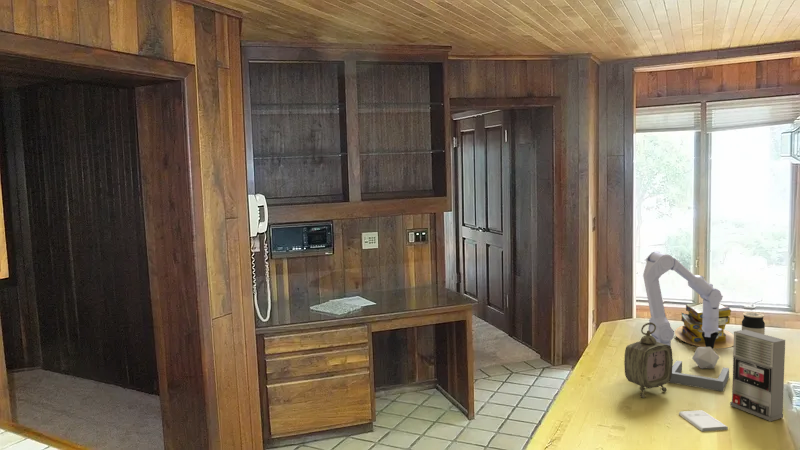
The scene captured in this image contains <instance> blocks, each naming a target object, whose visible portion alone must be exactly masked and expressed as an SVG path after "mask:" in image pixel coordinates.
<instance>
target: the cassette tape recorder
mask: <svg viewBox="0 0 800 450" xmlns="http://www.w3.org/2000/svg"><path fill="white" fill-rule="evenodd" d="M733 334H734V346H733V352H732V353H733V354H732V359H733V361H732V383H731V384H732V386H731V387H732V391H731V393H732V394H731V396H732V397H731V401H730V403H729V405H730V406H731V407H732V408H735V409H739V410H741V411H743V412H747V413H748V414H751V415H754V416H756V417H759V418H761V419H763V420H766V421H768V422H773V421H776V420H779V419H780V418H782V419H783V418H784V414H783V413H784V412H783V411H784V409H783V408H784V386H785V385H784V384H785V380H784V379H785V361H786V359H785V358H786V356H785V355H786V339H783V338H780V337H775V336H772V335H771V336H770V335H769V334H760V333H757V332H753V331H749V330H742V329H740V330H736V331H733Z"/></svg>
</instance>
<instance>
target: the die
mask: <svg viewBox="0 0 800 450" xmlns="http://www.w3.org/2000/svg"><path fill="white" fill-rule="evenodd" d="M691 359H692V360H693V361H694V362H695V364H697V366H698V367H699V368H700V369H702V370H703V369H704V370H705V369H714V368H715V367H716V366H717V363H718V362H719V359H720V356H719V355H718V354H717V353H716V351H715V350H714V348H713V349H712V348H711V347H699V346H696V349H695V352H694V354H693V356H692V358H691Z"/></svg>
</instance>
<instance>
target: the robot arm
mask: <svg viewBox="0 0 800 450" xmlns="http://www.w3.org/2000/svg"><path fill="white" fill-rule="evenodd" d="M645 261H646V263H645V268H644V270H643V273H642V274H643V275H642V277H643V281H644V286H645V293H646V297H647V302H648V308H649V313H650V318H649V319H648V321H649V322H648V323H654V324H655V326H656V330H655V331H654V333H652V334H650V335H651V336H653V337H654V338H655V339H656V342H659V343H663V344H666V345H669V346H671V347H672V345H671V344H672V343H671V341H672V340H673V339H674V337H675V330H674V329H673V328H672V326H671V323H670V321H669V320H668V318H667V317H666V316H667V315H666V311H665V306H664V301H663V295H662V292H661V284H660V278H661V276H662V275H664V274H666V273H667V272H669V271H674V272H675V273H676V274H678V275H679V276H681V277H682V278H683V279H685V280H686V281H687V285H688V287H689V288H691V290H693V291H694V292H695V293H697V294H698V295H699V297H700V298H701V299H702V303H703V321H702V330H703V331H704V332H702V336H703V338H704V341H705V345H706V347H711V348H712V349H713V350H714V349H715V348H714V344H715V340H716V337H717V336H718V334H719V333H718V332H717V331H722V329H720V328H718V322H719V303H720V304H721V301H722V300H723V297H724V296H723V295H722V293H721V291H720V290H719V289H717V288H715V287H714V285H713V284H712V283H710V282H708V281H707V280H705V277H704V276H703V275H699V274H693V273H692V272H691V271H690V270H689V269H688V268H686V267H685V266H684V264H682V263H681V262H680V261H679V260H678V259H677V258H674V257H673V256H672V255H670V254H666V253H662V252H660V251H657V250H656V251H655V250H654V251H653V252H651V253H650V254H649V255H648V256H647V257H646V259H645ZM647 329H648V330H649V331H650V332H652V331H653V330H654V325H652V324H650V325H648V328H647ZM648 330H647V331H648ZM672 360H673V361H674V359H673V358H672Z"/></svg>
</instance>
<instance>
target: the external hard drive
mask: <svg viewBox="0 0 800 450" xmlns="http://www.w3.org/2000/svg"><path fill="white" fill-rule="evenodd" d="M678 415H679V416H680V417H681V418H683V419H684V420H686V421H687V422H689V423H690V424H691V425H692V426H694V427H695V428H697V429H698V430H699V431H700V432H712V431H713V432H715V431H724V430H725V431H726V430H728V426H727V425H726V424H724V423H722V421H720V420H718V419H716V418H715V417H714V416H712V415H711V414H709V413H708V412H706V411H704V410H702V409H700V410H699V409H698V410H697V409H696V410H686V411H684V410H683V411H679V412H678Z"/></svg>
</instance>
